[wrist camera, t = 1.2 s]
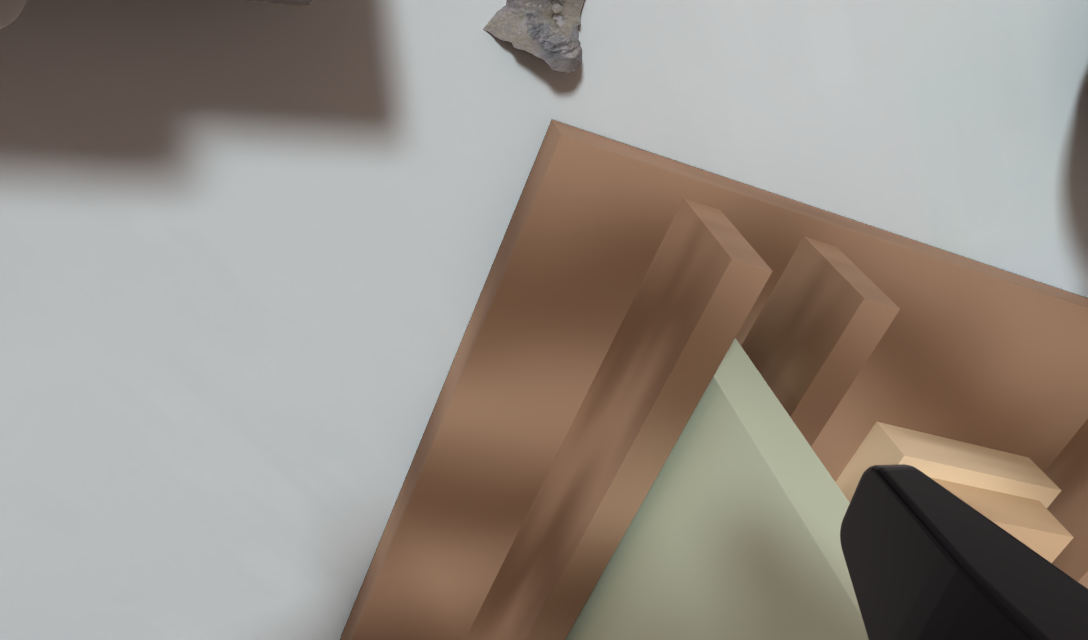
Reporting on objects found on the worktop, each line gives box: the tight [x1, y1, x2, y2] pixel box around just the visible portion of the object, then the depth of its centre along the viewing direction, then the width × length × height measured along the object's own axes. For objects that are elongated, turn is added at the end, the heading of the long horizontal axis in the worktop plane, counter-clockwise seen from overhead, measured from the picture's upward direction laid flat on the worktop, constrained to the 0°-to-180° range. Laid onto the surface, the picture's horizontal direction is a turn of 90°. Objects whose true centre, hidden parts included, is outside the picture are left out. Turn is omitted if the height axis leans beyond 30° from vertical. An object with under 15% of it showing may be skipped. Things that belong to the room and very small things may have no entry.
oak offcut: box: [930, 477, 1074, 563], centre depth 27 cm, size 8×5×2 cm, turn 158°
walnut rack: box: [340, 120, 1088, 640], centre depth 27 cm, size 21×21×4 cm
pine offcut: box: [836, 422, 1061, 508], centre depth 29 cm, size 11×6×2 cm, turn 158°
